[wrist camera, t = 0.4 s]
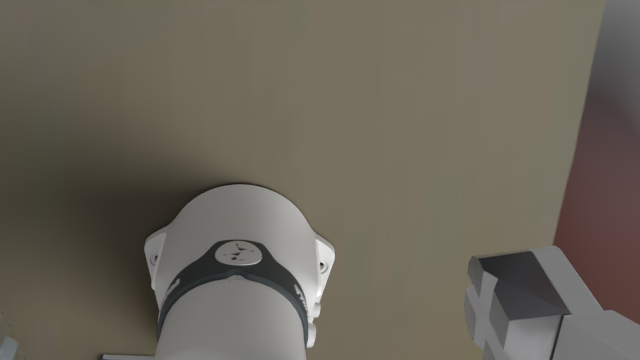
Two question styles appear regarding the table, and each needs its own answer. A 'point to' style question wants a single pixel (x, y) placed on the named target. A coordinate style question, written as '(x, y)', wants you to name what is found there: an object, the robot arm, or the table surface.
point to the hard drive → (127, 357)
